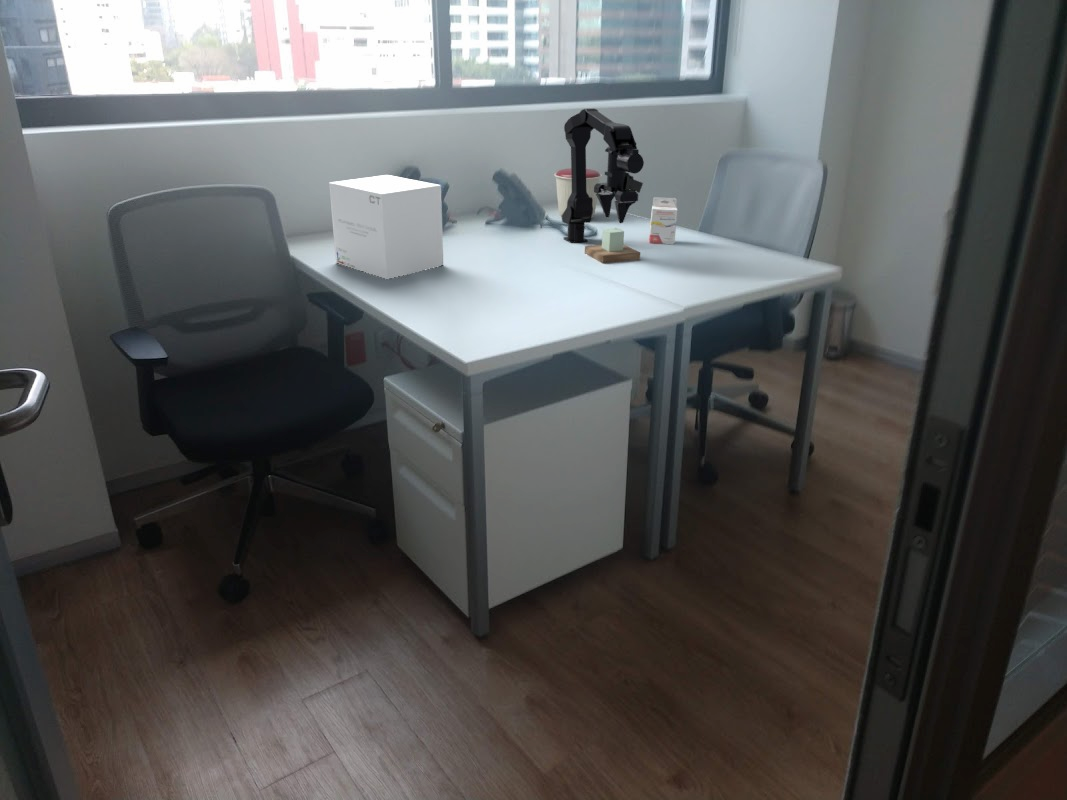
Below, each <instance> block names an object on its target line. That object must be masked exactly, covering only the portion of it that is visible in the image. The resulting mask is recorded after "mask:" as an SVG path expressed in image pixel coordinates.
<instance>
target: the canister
mask: <svg viewBox="0 0 1067 800" xmlns="http://www.w3.org/2000/svg"><path fill="white" fill-rule="evenodd" d="M553 176H554V177H555V182H556V183H555V186H556V196H557V205H558V213H559V216H560V217H561V218H562V214H563V213H564V211H565V210H566V208H567V201H568V199H569V197H570V195H571V193H572V174H571V168H563V169H559V170H558V171H557V172H555V173H554V174H553ZM602 177H603V175H602V174H601V173H600V171H597V170H595V169H591V168H586V188H587V194H588V195H589V197H592V199H593V203H592V205H593V213H592V217H591V219H593V218H594V216H595V214H596V213H595V212H596V208H597V203H598V197H597V196H596V194H597V193H595V192H594V186H595V185H596V184H597V183H601V178H602Z"/></svg>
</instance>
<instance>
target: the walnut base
mask: <svg viewBox="0 0 1067 800" xmlns="http://www.w3.org/2000/svg"><path fill="white" fill-rule="evenodd" d="M584 254H585V255H586V254H587V256H588V257H590V258H592V259H594V260H596V261H597V262H599V263H601V264H612V263H621V262H622V263H624V262H632V261H640V260H641V252H640V251H639V250H637V249H634V248H632V247H630V246H628V245H625V244H624V243H623V250H621V251H611V252H609V251H607V250H605V249H603V248H602V244H595V245H584Z"/></svg>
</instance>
